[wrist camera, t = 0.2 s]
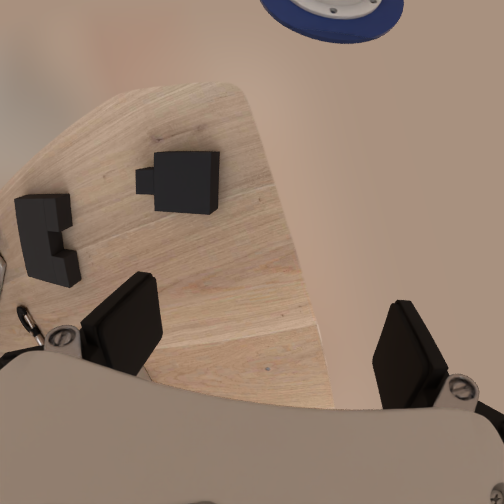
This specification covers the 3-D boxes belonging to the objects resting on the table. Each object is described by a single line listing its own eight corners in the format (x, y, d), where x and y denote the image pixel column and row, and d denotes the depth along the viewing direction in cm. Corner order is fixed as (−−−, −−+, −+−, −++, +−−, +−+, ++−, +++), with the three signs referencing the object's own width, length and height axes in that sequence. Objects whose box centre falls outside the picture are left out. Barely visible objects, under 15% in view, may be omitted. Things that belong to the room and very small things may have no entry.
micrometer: (15, 306, 48) (8, 311, 45) (26, 303, 46) (19, 309, 44) (45, 358, 52) (39, 364, 50) (58, 359, 50) (52, 366, 48)
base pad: (27, 194, 36) (14, 198, 33) (69, 193, 35) (55, 198, 32) (39, 269, 41) (28, 276, 38) (81, 279, 40) (69, 288, 37)
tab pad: (148, 152, 31) (135, 153, 28) (219, 151, 30) (211, 152, 27) (149, 204, 33) (136, 210, 30) (218, 208, 32) (209, 214, 29)
